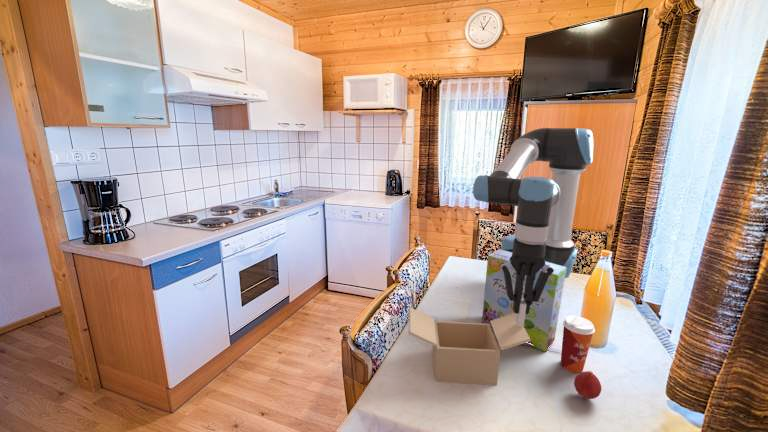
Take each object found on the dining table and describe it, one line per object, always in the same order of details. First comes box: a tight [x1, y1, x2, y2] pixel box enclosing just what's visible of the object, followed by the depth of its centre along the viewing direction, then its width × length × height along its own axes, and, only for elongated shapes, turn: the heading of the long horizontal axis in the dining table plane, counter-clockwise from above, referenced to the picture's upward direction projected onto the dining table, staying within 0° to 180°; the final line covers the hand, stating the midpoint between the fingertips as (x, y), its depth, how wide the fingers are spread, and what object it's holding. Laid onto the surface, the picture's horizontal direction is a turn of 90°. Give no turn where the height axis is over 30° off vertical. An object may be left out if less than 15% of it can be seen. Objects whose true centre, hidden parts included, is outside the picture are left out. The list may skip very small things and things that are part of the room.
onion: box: [573, 370, 602, 400], centre depth 86 cm, size 6×6×8 cm
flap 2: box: [490, 313, 531, 351], centre depth 93 cm, size 8×12×1 cm, turn 174°
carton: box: [431, 320, 501, 386], centre depth 96 cm, size 16×13×10 cm
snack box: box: [481, 248, 567, 353], centre depth 110 cm, size 22×9×26 cm, turn 47°
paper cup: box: [560, 315, 596, 374], centre depth 96 cm, size 8×8×14 cm
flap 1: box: [408, 306, 437, 346], centre depth 95 cm, size 8×12×1 cm, turn 177°
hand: (519, 323), depth 93 cm, fingers closed
